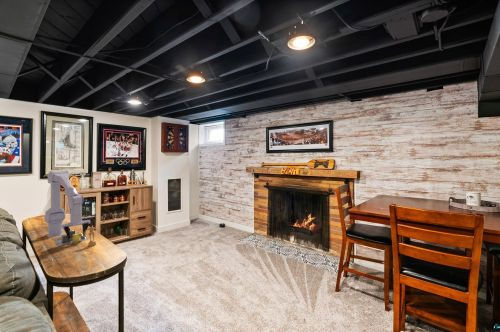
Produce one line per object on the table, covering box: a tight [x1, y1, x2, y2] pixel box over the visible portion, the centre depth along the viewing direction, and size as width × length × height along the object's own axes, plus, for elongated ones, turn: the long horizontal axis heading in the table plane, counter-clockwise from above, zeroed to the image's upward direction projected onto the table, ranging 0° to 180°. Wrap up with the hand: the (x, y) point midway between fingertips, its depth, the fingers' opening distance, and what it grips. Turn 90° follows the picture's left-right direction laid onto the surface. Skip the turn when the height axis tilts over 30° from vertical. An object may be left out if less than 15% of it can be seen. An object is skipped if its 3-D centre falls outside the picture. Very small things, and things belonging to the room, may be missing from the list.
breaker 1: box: [60, 233, 70, 242], centre depth 146 cm, size 3×4×4 cm
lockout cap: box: [72, 233, 81, 243], centre depth 147 cm, size 4×4×4 cm
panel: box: [52, 231, 90, 247], centre depth 150 cm, size 18×15×3 cm
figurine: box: [83, 226, 101, 247], centre depth 141 cm, size 8×6×12 cm
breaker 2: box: [70, 229, 76, 237], centre depth 154 cm, size 3×4×4 cm
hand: (76, 237), depth 147 cm, fingers open, 7 cm apart
